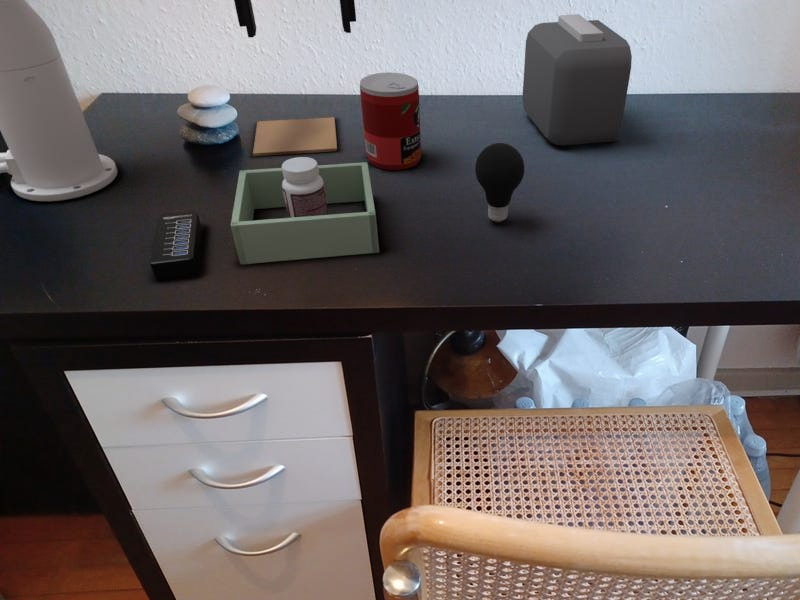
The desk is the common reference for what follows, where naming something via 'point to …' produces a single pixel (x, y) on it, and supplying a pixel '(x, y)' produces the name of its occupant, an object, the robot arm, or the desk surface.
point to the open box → (308, 232)
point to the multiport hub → (176, 246)
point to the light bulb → (499, 177)
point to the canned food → (391, 120)
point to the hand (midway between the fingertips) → (300, 31)
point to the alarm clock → (576, 80)
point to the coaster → (295, 136)
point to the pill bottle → (303, 188)
